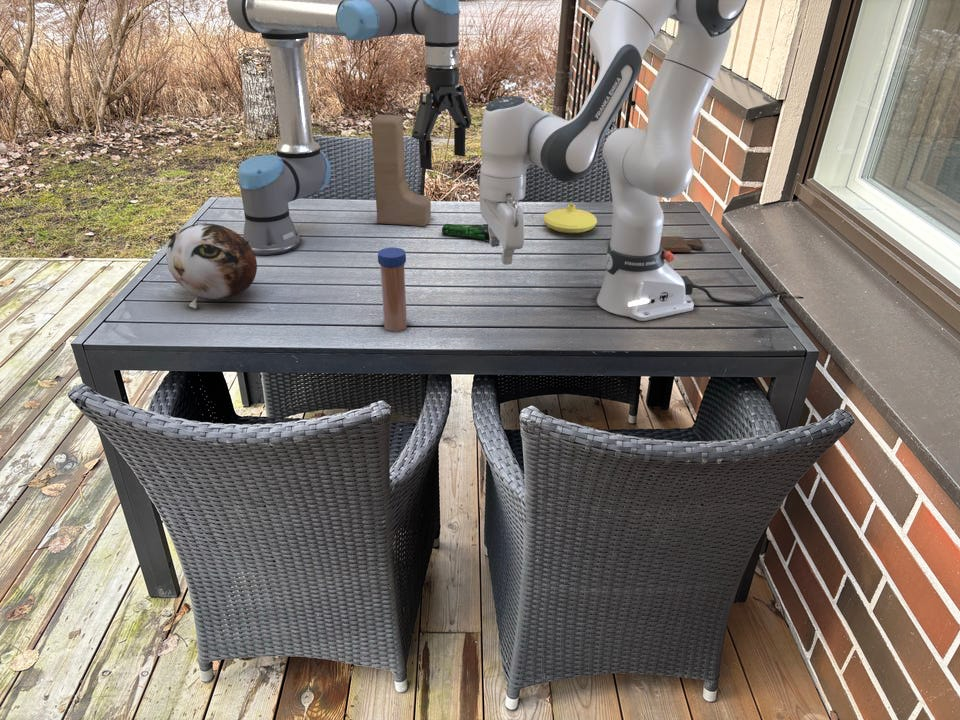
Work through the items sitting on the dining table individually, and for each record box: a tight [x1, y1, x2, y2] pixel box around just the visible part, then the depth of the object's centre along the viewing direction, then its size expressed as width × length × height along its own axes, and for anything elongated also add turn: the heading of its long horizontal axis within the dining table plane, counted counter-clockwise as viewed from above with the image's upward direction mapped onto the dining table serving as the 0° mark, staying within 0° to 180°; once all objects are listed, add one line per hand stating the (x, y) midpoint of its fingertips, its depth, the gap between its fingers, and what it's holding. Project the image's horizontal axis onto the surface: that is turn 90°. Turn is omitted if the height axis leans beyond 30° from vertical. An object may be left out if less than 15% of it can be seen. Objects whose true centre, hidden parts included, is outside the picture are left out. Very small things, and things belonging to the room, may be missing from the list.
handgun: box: [441, 223, 490, 242], centre depth 207 cm, size 16×3×15 cm
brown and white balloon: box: [165, 222, 258, 309], centre depth 165 cm, size 22×18×20 cm
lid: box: [377, 246, 407, 267], centre depth 149 cm, size 6×6×2 cm
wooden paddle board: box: [609, 235, 704, 253], centre depth 200 cm, size 26×2×10 cm
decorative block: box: [370, 114, 432, 227], centre depth 207 cm, size 8×15×30 cm, turn 82°
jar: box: [379, 264, 408, 332], centre depth 153 cm, size 5×5×17 cm
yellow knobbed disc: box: [543, 203, 598, 234], centre depth 209 cm, size 16×16×7 cm
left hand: (443, 161), depth 169 cm, fingers open, 13 cm apart
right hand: (500, 254), depth 144 cm, fingers open, 8 cm apart
